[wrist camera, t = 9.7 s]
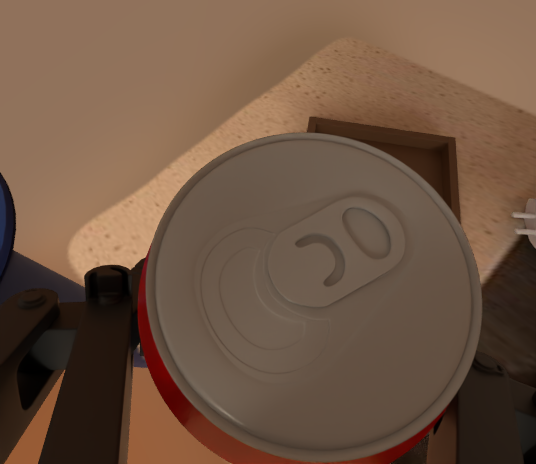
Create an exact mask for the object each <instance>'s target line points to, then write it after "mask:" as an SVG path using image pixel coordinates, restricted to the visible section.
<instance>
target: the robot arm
mask: <svg viewBox="0 0 536 464" xmlns="http://www.w3.org/2000/svg"><path fill="white" fill-rule="evenodd" d="M145 259H146V258H144V259H141V260H140V261H139V262H138V263H137V264H136V265H135V267H133V268H132V269H131V270H129V269H128V268H127V267H123V266H120V265H105V266H100V267H96V268H93V269H92V270H90V271H88V272H87V273H86V275H85V276H84V279H85V292H86V302H70V303H59V298H58V295H57V293H56V292H54V291H53V290H49V289H37V288H36V289H31V290H30V289H29V290H25V291H22V292H20V293H17V294H15V295H13V296H12V297H10V298H9V299H7V300H6V301H5V302H4V303H3V304H2V305H1V306H0V464H4V463H5V461H6V460H7V458H8V457H9V455H10V453H11V452H12V450H13V449H14V447H15V446H16V444H17V443H18V441H19V439H20V438H21V436H22V435H23V433H24V432H25V430H26V429H27V427H28V425H29V424H30V422H31V421H32V419H33V417H34V416H35V415H36V413H37V411H38V410H39V408H40V407H41V405H42V404H43V402H44V401H45V399H46V397H47V396H48V394H49V393H50V391H51V390H52V388H53V387H54V385H55V383H56V382H57V380H58V379H59V377H60V376H61V374H62V372H63V371H64V370H65V373H64V377H63V380H62V384H61V387H60V390H59V394H58V397H57V401H56V404H55V407H54V411H53V414H52V418H51V421H50V425H49V428H48V431H47V435H46V438H45V442H44V445H43V449H42V452H41V456H40V459H39V462H38V464H127V456H128V440H129V425H130V410H131V394H132V379H133V363H134V356H133V352H134V350H135V349H136V347H137V346H138V345H139V343H140V356H144V353H143V349H142V345H141V340H140V334H139V326H138V292H139V284H140V279H141V274H142V270H143V266H144V262H145ZM429 432H430V433H429ZM429 432H428V433H427V435H426V436H428V434H429V441H428V450H427V459H426V464H536V388H534V387H531V386H528V385H526V384H523V383H520V382H518V381H515V380H513V379H510V378H509V375H508V373H507V371H506V369H505V368H504V367H503V366H502V365H501V364H500V363H499V362H498V361H496V360H495V359H493V358H492V357H490V356H488V355H486V354H484V353H482V352H479V351H477V350H476V353H475V356H474V359H473V362H472V365H471V367H470V369H469V372H468V374H467V376H466V378H465V380H464V382H463V384H462V385H461V387H460V389H459V390H458V392H457V393H456V395H455V396H454V398H453V399H452V400H451V402H450V403H449V405H448V407H447V408H446V410H445V412H444V413H443V415H442V416H441V418H440V419H439V420H438V422H437V423H436V424H435V425H434V427H433V428H432V429H431V430H430V431H429Z"/></svg>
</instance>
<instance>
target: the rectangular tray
mask: <svg viewBox="0 0 536 464" xmlns="http://www.w3.org/2000/svg"><path fill="white" fill-rule="evenodd" d="M307 133H321V134H329V135H335V136H340V137H345V138H349V139H352V140H356V141H359V142H362V143H365V144H367V145H370V146H372V147H375V148H377V149H379V150H381V151H383V152H385V153H387V154H389V155H391V156H392V157H394V158H396V159H397V160H399V161H401V162H402V163H404V164H405V165H407V166H408V167H409V168H411V169H412V170H413V171H415V172H416V173H417V174H418V175H419V176H421V177H422V178H423V179H424V180H425V181H426V182H427V183H428V184H429V185H430V186H431V187H432V188H433V189H434V190H435V191H436V192H437V193H438V194H439V195H440V196H441V198H442V199H443V200H444V201H445V203H446V204H447V205H448V207H449V208H450V209H451V211H452V212H453V214H454V215H455V217H456V218H457V220H458V222H459V223H460V225H461V222H460V206H459V190H458V174H457V158H456V141H455V138H453V137H446V136H439V135H433V134H426V133H419V132H412V131H405V130H398V129H392V128H385V127H378V126H371V125H364V124H358V123H351V122H344V121H337V120H330V119H324V118H317V117H310V118H309V124H308V129H307Z"/></svg>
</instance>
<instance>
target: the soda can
mask: <svg viewBox="0 0 536 464" xmlns="http://www.w3.org/2000/svg"><path fill="white" fill-rule="evenodd" d="M481 323H482V292H481V283H480V278H479V273H478V268H477V264H476V261H475V258H474V254H473V252H472V249H471V246H470V244H469V241H468V239H467V237H466V235H465V233H464V231H463V229H462V227H461V225H460V223H459V222H458V220H457V218H456V217H455V215H454V214H453V212H452V211H451V209H450V208H449V207H448V205H447V204H446V203H445V201H444V200H443V199H442V198H441V196H440V195H439V194H438V193H437V192H436V191H435V190H434V189H433V188H432V187H431V186H430V185H429V184H428V183H427V182H426V181H425V180H424V179H423V178H422V177H421V176H419V175H418V174H417V173H416V172H415V171H413V170H412V169H411V168H409V167H408V166H407V165H405V164H404V163H402V162H401V161H399V160H397V159H396V158H394V157H392V156H391V155H389V154H387V153H385V152H383V151H381V150H379V149H377V148H375V147H372V146H370V145H367V144H365V143H362V142H359V141H356V140H352V139H349V138H345V137H340V136H335V135H329V134H321V133H287V134H279V135H273V136H268V137H264V138H260V139H256V140H253V141H250V142H247V143H245V144H242V145H240V146H237V147H235V148H233V149H231V150H229V151H227V152H225V153H223V154H222V155H220V156H218V157H217V158H215V159H214V160H212V161H211V162H209V163H208V164H207V165H205V166H204V167H203V168H201V169H200V170H199V171H198V172H197V173H196V174H195V175H193V176H192V177H191V178H190V179H189V180H188V181H187V183H186V184H185V185H184V186H183V187H182V188H181V189H180V191H179V192H178V193H177V194H176V196H175V197H174V199H173V200H172V201H171V203H170V205H169V206H168V208H167V210H166V211H165V213H164V215H163V217H162V219H161V221H160V223H159V225H158V228H157V230H156V233H155V235H154V238H153V241H152V243H151V246H150V248H149V251H148V253H147V256H146V259H145V262H144V266H143V270H142V274H141V279H140V284H139V292H138V326H139V334H140V340H141V345H142V349H143V353H144V357H145V360H146V363H147V366H148V369H149V371H150V374H151V376H152V379H153V381H154V383H155V385H156V387H157V389H158V391H159V393H160V394H161V396H162V398H163V399H164V401H165V403H166V404H167V405H168V407H169V409H170V410H171V411H172V413H173V414H174V415H175V417H176V418H177V419H178V420H179V422H180V423H181V424H182V425H183V426H184V427H185V428H186V429H187V430H188V431H189V432H190V433H191V434H192V435H193V436H194V437H195V438H196V439H197V440H198V441H199V442H201V443H202V444H203V445H204V446H206V447H207V448H208V449H210V450H211V451H213V452H214V453H215V454H217V455H218V456H220V457H221V458H223V459H225V460H226V461H228V462H230V463H232V464H389V463H391V462H393V461H394V460H396V459H397V458H399V457H401V456H402V455H403V454H405V453H406V452H408V451H409V450H410V449H411V448H413V447H414V446H415V445H416V444H417V443H418V442H419V441H421V440H422V439H423V438H424V437H425V436H426V435H427V433H428V432H429V431H430V430H431V429H432V428H433V427H434V425H435V424H436V423H437V422H438V420H439V419H440V418H441V416H442V415H443V413H444V412H445V410H446V408H447V407H448V405H449V403H450V402H451V400H452V399H453V398H454V396H455V395H456V393H457V392H458V390H459V389H460V387H461V385H462V384H463V382H464V380H465V378H466V376H467V374H468V372H469V369H470V367H471V365H472V362H473V359H474V356H475V353H476V350H477V346H478V342H479V337H480V331H481Z"/></svg>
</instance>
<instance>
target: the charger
mask: <svg viewBox="0 0 536 464" xmlns="http://www.w3.org/2000/svg"><path fill="white" fill-rule="evenodd" d="M511 216H512V217H516V218H524V220H525V224H526V229H518V228H516V229H515V231H514V232H515V233H516V234H525V235H528V237H529V241H530V242H531V243H532V245H533V246H534V247H535V248H536V199H532V198H529V200H528V202H527V204H526V210H525V213H520V212H512V213H511Z"/></svg>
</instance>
